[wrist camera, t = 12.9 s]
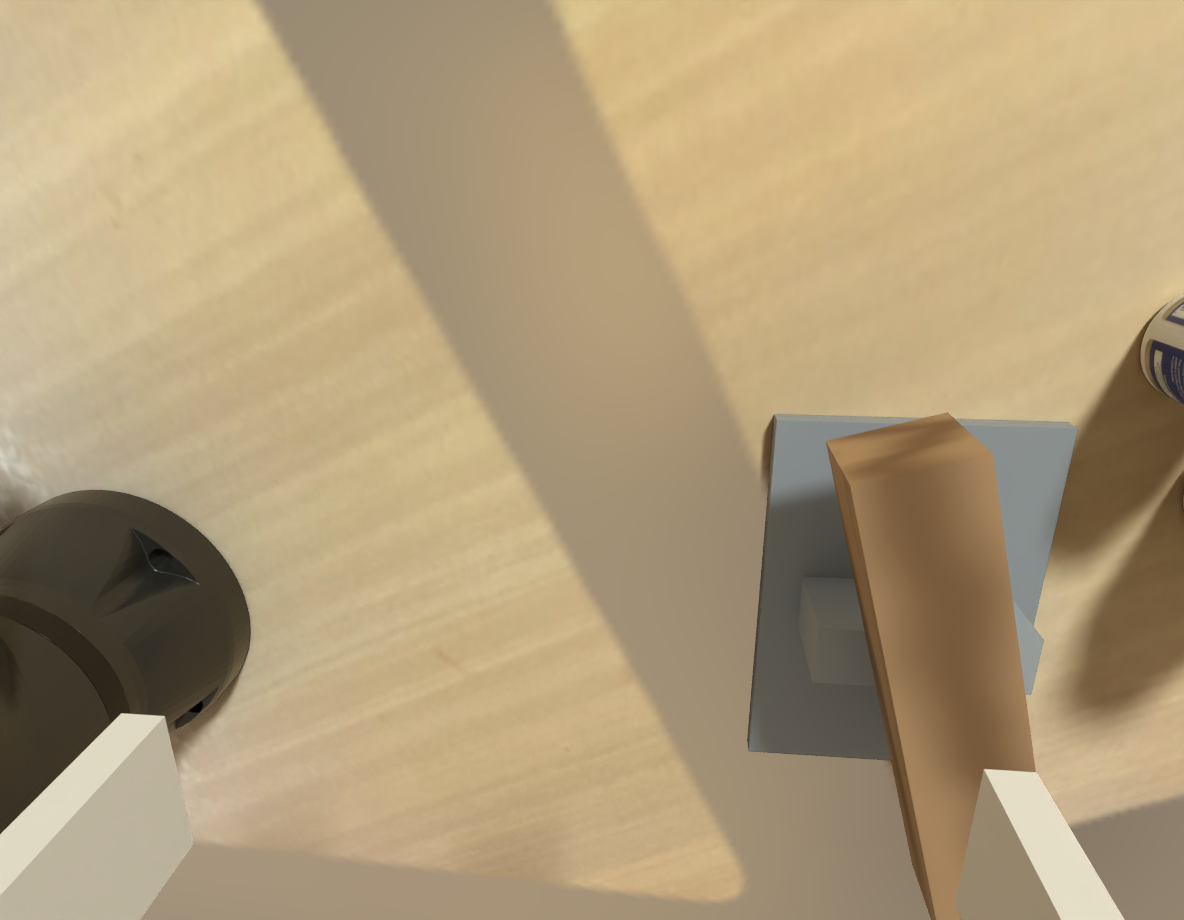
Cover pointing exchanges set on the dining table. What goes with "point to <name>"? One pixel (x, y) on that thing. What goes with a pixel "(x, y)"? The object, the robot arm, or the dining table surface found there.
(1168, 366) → the pill bottle
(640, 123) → the dining table surface
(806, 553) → the fulcrum
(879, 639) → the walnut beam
